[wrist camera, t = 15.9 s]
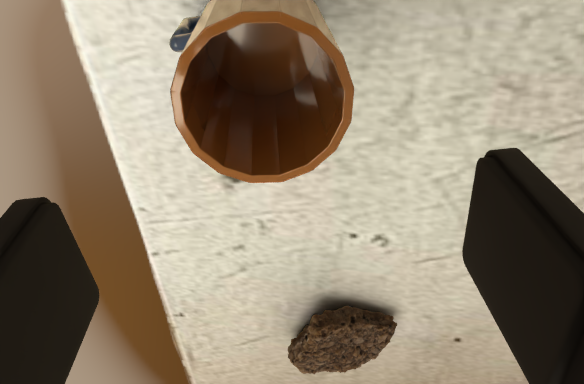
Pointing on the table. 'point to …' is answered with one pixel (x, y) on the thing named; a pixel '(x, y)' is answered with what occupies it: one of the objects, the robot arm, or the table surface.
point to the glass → (262, 89)
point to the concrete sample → (341, 340)
